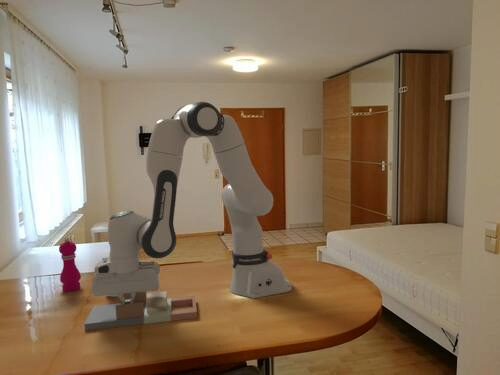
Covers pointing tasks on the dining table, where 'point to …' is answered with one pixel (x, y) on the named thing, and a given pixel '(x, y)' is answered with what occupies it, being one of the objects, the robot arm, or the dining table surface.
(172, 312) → the board
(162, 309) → the birch block
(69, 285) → the pepper mill
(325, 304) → the dining table surface
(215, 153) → the robot arm
